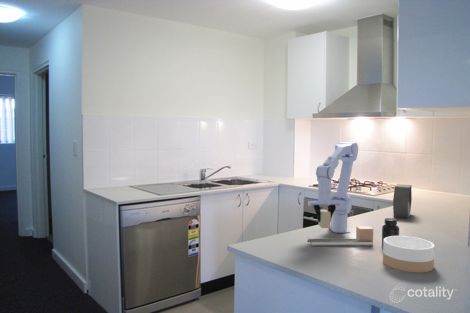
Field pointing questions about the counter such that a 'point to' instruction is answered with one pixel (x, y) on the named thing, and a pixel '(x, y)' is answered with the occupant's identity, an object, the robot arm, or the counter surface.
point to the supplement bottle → (389, 228)
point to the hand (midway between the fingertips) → (324, 221)
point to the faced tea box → (364, 233)
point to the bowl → (408, 253)
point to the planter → (402, 201)
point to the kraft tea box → (325, 219)
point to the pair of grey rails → (339, 242)
